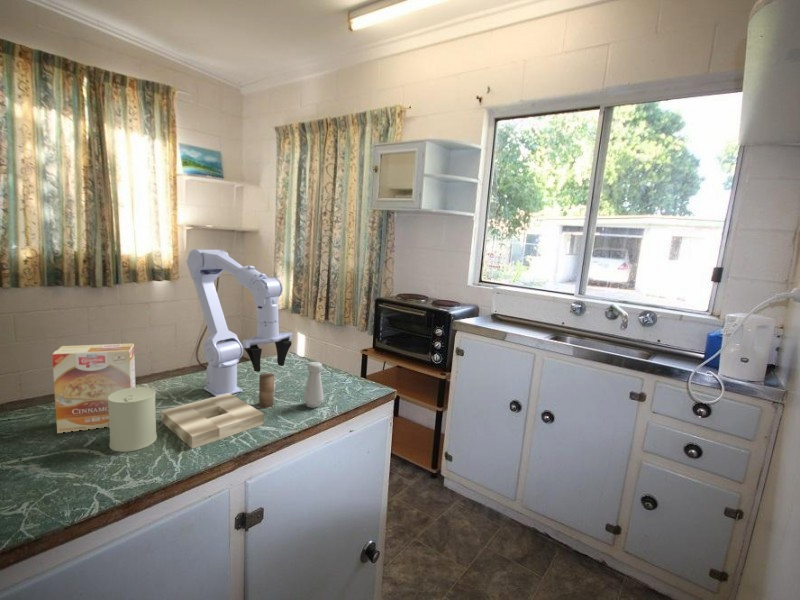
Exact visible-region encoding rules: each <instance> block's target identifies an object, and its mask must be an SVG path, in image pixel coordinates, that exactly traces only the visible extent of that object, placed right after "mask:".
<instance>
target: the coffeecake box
mask: <svg viewBox="0 0 800 600" xmlns="http://www.w3.org/2000/svg"><path fill="white" fill-rule="evenodd" d="M135 363H136V362H135V343H133V342H132V343H131V342H129V343H116V344H115V343H111V344H110V343H107V344H87V345H85V344H82V345H80V344H79V345H61V346H60V347H59V348H58V349H57V350H55V351H54V352H52V373H53V388H54V389H53V390H54V404H55V420H56V422H55V423H56V431H57V432H56V433H57V434H63V432H65V433H72V432H71V431H73V432H80V431H79V430H82V431H88V429H90V430H97V429H96V428H99V429H105V428H104V427H107V428H110V427H109V408H108V399H107V398H108V396H109V395H110V394H112V393H113V392H116V391H119V390H122V389H126V388H132V387H136V366H135V365H136V364H135Z"/></svg>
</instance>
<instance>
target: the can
mask: <svg viewBox="0 0 800 600" xmlns="http://www.w3.org/2000/svg"><path fill="white" fill-rule="evenodd" d="M156 393H157V391H156V390H155V389H154V388H152V387H147V386H135V387H132V388H126V389H122V390H119V391H116V392H113V393H112V394H110V395H109V396H108V398H107V399H108V408H109V427H108V428H109V444H108V445H109V448H110V449H111V450H112V451H114V452H118V451H119V452H121V453H122V452H124V453H126V452H134V451H139V450H142V449H144V448H147V447H148V446H149V447H150V446H151V445H152V444H154V443H155V442H156V441H157V439H158V434H157V422H156V421H157V420H156V418H157V414H156Z"/></svg>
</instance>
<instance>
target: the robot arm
mask: <svg viewBox="0 0 800 600" xmlns="http://www.w3.org/2000/svg"><path fill="white" fill-rule="evenodd" d="M186 264H187V267H188V271H189V274H190V278H191V279H192V280H193V283H194V284H193V285H194V287H195V290H196V294H197V298H198V301H199V304H200V306H201V310H202V314H203V317H204V320H205V324H206V327H207V331H208V334H209V336H208V337H207V338H206V339H205V340H204V342H203V347H204V359H205V360H206V362H207V364H208V365H207V367H206V386H204V387H203V390H204V391H207V392H208V393H210V394H211V395H213V397H216V396H220V395H224V394H228V393H230V394H232V395H234V394H238V393H241V392H243V389H242V388H241V387H239V386H238V363H239V362H240V359H241V358H242V356H243V354H244V351H245V352H246V354H247V355H248V357H249V359H250V362H251V365H252V368H253V371H254V372H256V373H260V372H261V358H262V357H261V356H262V351H263V349H262V348H260V347H259V346H261V345H266V344H272V343H274V344H275V348H276V357H277V358H276V360H277V361H276V362H277V365H278V366H279V367H285V366H284V365H285V361H286V358H287V355H288V352H289V350H290V348H291V346H292V340H293V333H292V332H290V331H288V332H281V333H280V328H279V327H280V326H279V324H280V323H279V297H280V296H281V295H282V293H283V285H282V282H281V280H280V279H278V277H275V276H273V277H268V276H267V274H265V273H262V272H260V271H259V270H256V267H255V266H254V265H245V266H243V265H242V264H240V263H239V262H237V261H236V260H235V259H233V258H232V257H231V256H229V253H228V251H225V250H223V249H220V248H218V249H197V248H194V249H191V250H190V251H189V253H188V256H187V259H186ZM223 271H225V272H227V273H229V274H230V275H232V276H234V277H235V279H236V282H237V283H238V284H239V285H240V286H242V287H244V288H246V289H247V290H249V291H250V292H251V295H252V297H253V299H254V304H255V306H256V324H257V325H256V327H257V328H256V330H257V331H256V332H257V335H256V336H253V337H250V338H247V339H242V342H241V341H240V340H239V338H238V334H236V333H234V332H233V331H230V330H229V328H228V325H227V321H226V318H225V314H224V311H223V308H222V305H221V303H220V302H221V301H220V299H219V295H218V293H217V288H216V286H215V284H214V283H215V280H216V279H218V278H219V277H220V275H221V274H222V273H223Z"/></svg>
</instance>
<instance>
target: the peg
mask: <svg viewBox="0 0 800 600" xmlns="http://www.w3.org/2000/svg"><path fill="white" fill-rule="evenodd" d="M258 378H259V380H258V381H259V385H258V389H259V390H258V392H259V393H258V406H259V407H260V408H261V409H262V408H263V409H264V408H265V409H268V408H272V407H274V403H275V401H274V397H275V395H274V393H275V374H274V373H271V372H265V373H264V372H263V373H260V374H259V377H258Z"/></svg>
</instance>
